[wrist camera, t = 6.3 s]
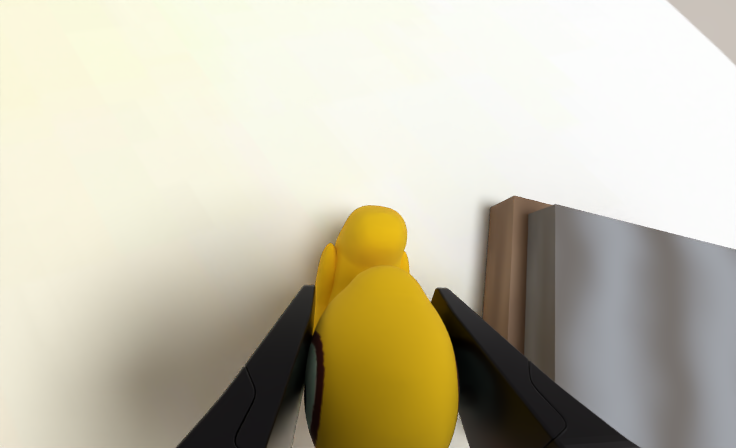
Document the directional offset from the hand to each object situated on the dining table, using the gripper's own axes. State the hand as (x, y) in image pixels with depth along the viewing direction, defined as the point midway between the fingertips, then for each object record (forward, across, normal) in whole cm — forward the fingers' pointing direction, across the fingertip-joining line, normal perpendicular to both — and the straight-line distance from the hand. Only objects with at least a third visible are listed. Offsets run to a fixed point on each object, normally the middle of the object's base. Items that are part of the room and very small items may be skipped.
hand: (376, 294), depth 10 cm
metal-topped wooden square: (+3, -15, +6) cm, 17 cm away
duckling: (+4, 0, +6) cm, 7 cm away
